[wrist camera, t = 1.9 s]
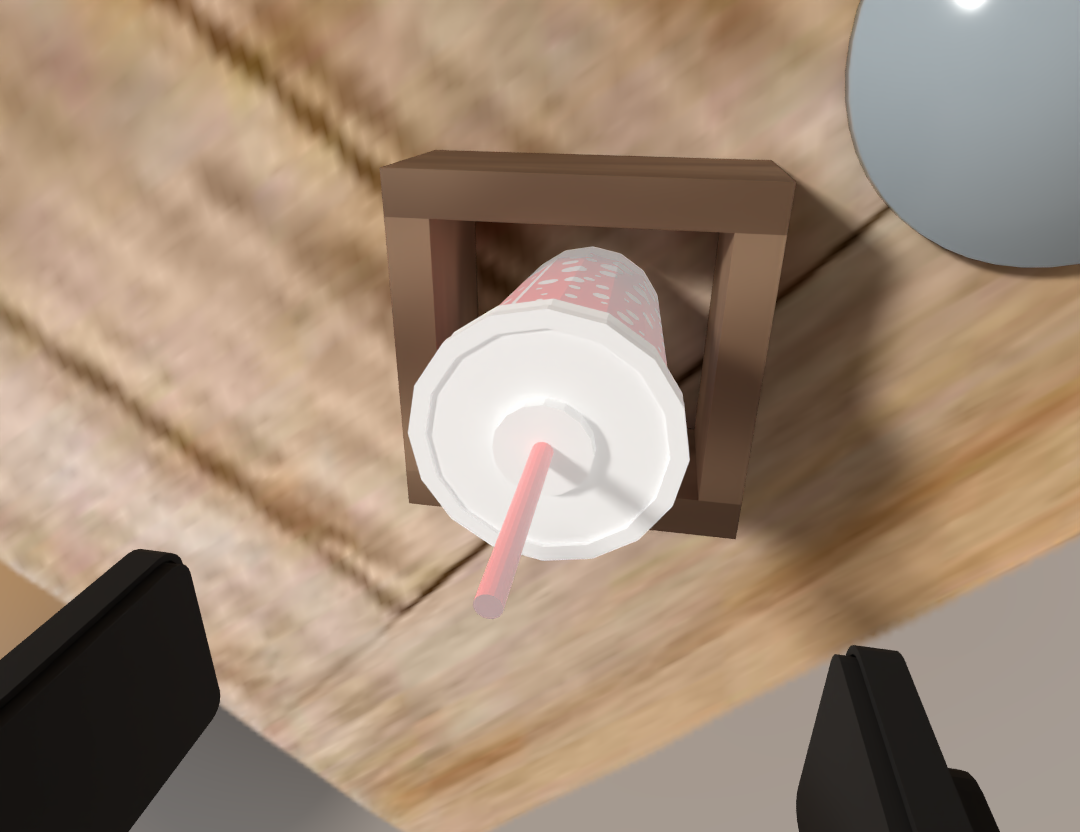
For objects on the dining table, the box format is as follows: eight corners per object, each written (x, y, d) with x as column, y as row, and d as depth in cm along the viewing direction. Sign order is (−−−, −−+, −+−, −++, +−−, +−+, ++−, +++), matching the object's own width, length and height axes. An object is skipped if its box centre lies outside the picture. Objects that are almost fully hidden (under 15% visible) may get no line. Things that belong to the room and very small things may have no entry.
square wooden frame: (435, 150, 21) (379, 167, 17) (771, 160, 20) (796, 182, 16) (450, 436, 26) (409, 503, 22) (725, 462, 24) (735, 539, 20)
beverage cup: (538, 420, 25) (402, 766, 12) (470, 259, 22) (221, 485, 10) (707, 372, 23) (746, 725, 10) (651, 192, 21) (615, 368, 8)
